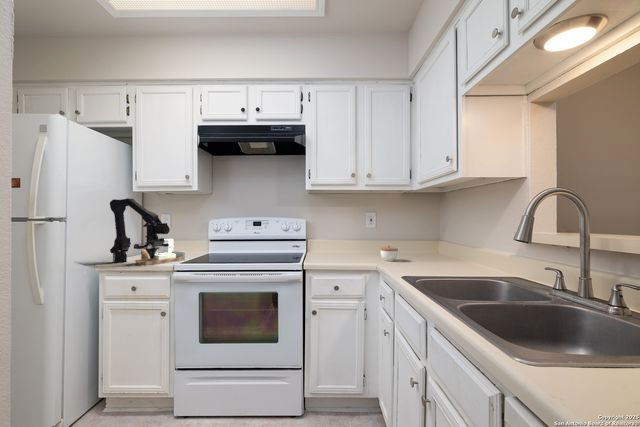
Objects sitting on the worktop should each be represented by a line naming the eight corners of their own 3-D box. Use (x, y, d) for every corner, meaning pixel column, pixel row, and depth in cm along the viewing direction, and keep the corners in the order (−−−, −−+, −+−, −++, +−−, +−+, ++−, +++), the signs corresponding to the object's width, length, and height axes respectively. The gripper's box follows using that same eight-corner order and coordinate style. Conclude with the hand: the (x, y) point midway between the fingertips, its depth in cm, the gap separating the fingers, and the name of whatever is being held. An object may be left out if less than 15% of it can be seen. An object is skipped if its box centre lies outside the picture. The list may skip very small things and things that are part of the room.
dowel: (143, 260, 197) (143, 248, 197) (140, 260, 200) (140, 248, 200) (149, 260, 201) (149, 248, 201) (146, 259, 203) (146, 247, 203)
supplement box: (168, 258, 210) (168, 239, 210) (157, 258, 210) (157, 239, 210) (173, 256, 217) (173, 238, 217) (163, 256, 217) (163, 238, 217)
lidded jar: (400, 261, 188) (400, 246, 189) (384, 262, 186) (384, 246, 186) (393, 259, 199) (393, 244, 199) (377, 259, 197) (377, 245, 197)
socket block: (158, 261, 187) (158, 255, 187) (150, 260, 194) (149, 254, 194) (176, 259, 196) (175, 254, 196) (167, 257, 203) (167, 252, 203)
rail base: (146, 265, 180) (146, 256, 180) (135, 263, 188) (135, 255, 188) (184, 260, 199) (184, 252, 200) (173, 258, 208) (173, 251, 208)
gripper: (141, 235, 177) (141, 262, 177) (173, 233, 192) (173, 258, 192) (133, 234, 184) (133, 260, 184) (164, 233, 199) (164, 257, 199)
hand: (151, 259), depth 189 cm, fingers closed
